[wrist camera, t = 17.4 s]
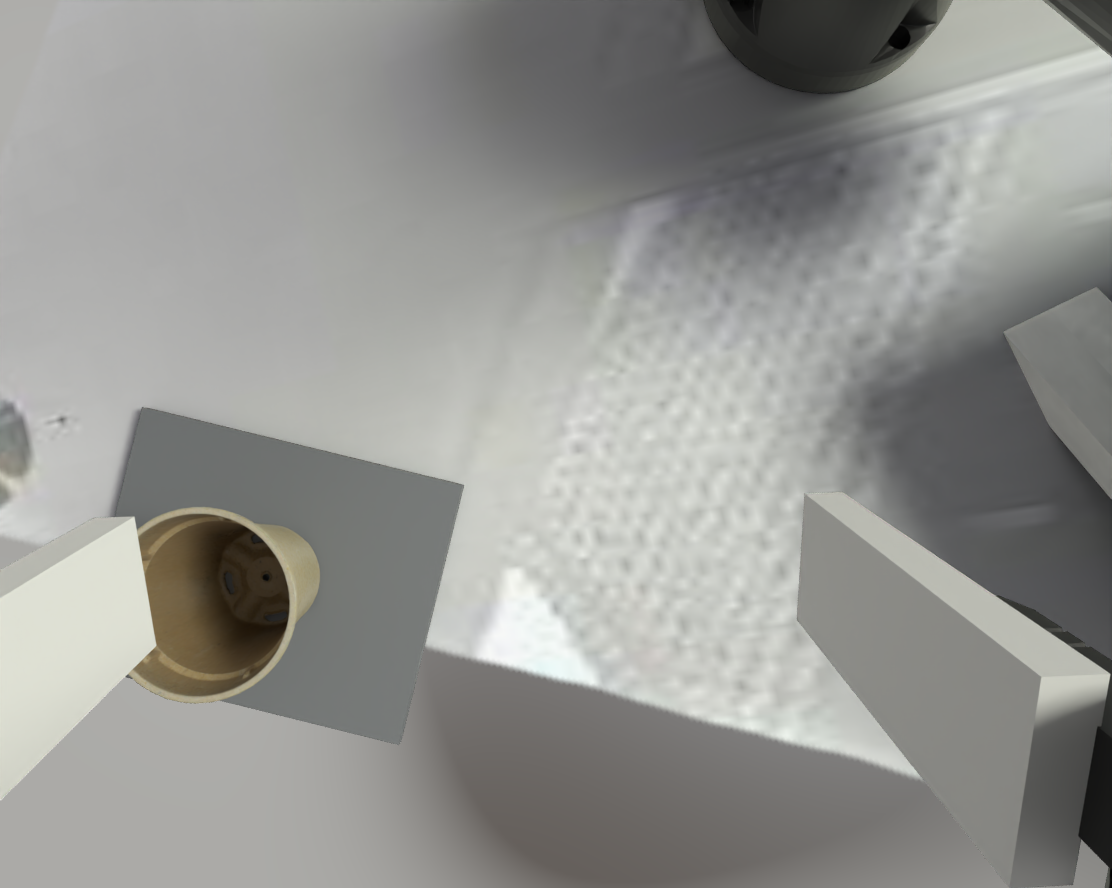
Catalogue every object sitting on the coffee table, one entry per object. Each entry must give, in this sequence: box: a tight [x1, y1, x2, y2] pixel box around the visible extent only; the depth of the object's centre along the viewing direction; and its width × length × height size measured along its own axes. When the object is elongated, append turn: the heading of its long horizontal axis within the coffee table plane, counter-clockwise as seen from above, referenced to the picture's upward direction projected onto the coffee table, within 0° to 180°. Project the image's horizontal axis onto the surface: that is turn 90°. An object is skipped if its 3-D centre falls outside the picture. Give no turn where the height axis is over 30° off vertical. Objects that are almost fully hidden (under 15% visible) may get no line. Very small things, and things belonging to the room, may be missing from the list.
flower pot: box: [128, 507, 320, 703], centre depth 38 cm, size 9×9×9 cm
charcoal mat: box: [115, 407, 464, 745], centre depth 43 cm, size 20×16×1 cm
